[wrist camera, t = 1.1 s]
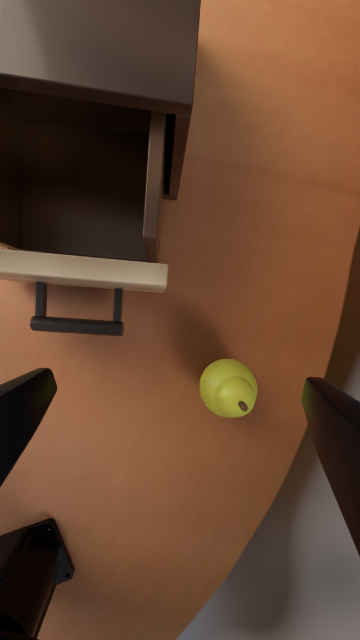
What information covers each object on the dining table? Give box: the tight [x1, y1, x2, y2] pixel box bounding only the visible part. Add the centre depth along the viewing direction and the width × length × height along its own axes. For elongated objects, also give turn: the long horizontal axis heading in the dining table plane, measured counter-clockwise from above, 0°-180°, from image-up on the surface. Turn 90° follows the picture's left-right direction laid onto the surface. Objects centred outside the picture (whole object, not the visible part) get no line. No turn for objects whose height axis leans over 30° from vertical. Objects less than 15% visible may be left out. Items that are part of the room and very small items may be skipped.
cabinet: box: [0, 0, 201, 200], centre depth 15 cm, size 15×15×11 cm
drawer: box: [0, 88, 168, 336], centre depth 16 cm, size 17×13×9 cm
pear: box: [199, 359, 257, 418], centre depth 20 cm, size 5×5×7 cm
